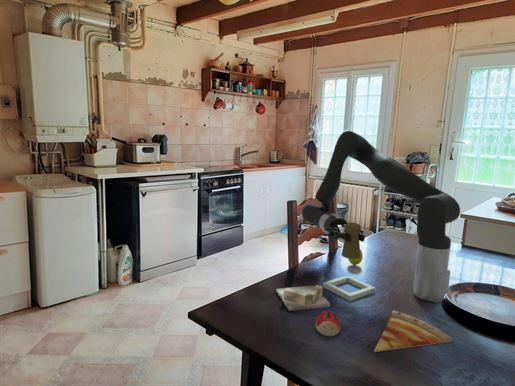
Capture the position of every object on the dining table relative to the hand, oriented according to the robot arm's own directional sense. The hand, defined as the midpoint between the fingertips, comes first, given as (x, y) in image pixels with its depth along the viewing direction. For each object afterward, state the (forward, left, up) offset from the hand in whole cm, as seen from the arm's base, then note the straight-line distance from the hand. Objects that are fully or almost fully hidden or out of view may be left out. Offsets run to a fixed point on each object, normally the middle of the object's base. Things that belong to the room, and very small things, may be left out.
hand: (356, 238), depth 115 cm
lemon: (+17, -20, -19) cm, 32 cm away
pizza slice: (-21, +8, -19) cm, 30 cm away
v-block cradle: (+6, +17, -18) cm, 26 cm away
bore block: (+3, -1, -18) cm, 19 cm away
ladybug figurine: (-11, +22, -19) cm, 31 cm away
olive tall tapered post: (+3, -1, -7) cm, 7 cm away
